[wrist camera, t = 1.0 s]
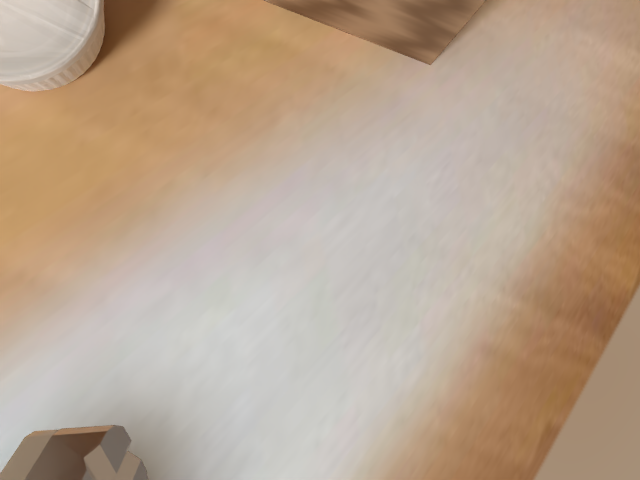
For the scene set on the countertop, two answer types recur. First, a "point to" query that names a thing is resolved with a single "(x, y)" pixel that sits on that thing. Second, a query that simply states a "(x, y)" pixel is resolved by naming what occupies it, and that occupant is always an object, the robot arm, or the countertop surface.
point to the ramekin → (48, 41)
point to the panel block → (393, 21)
